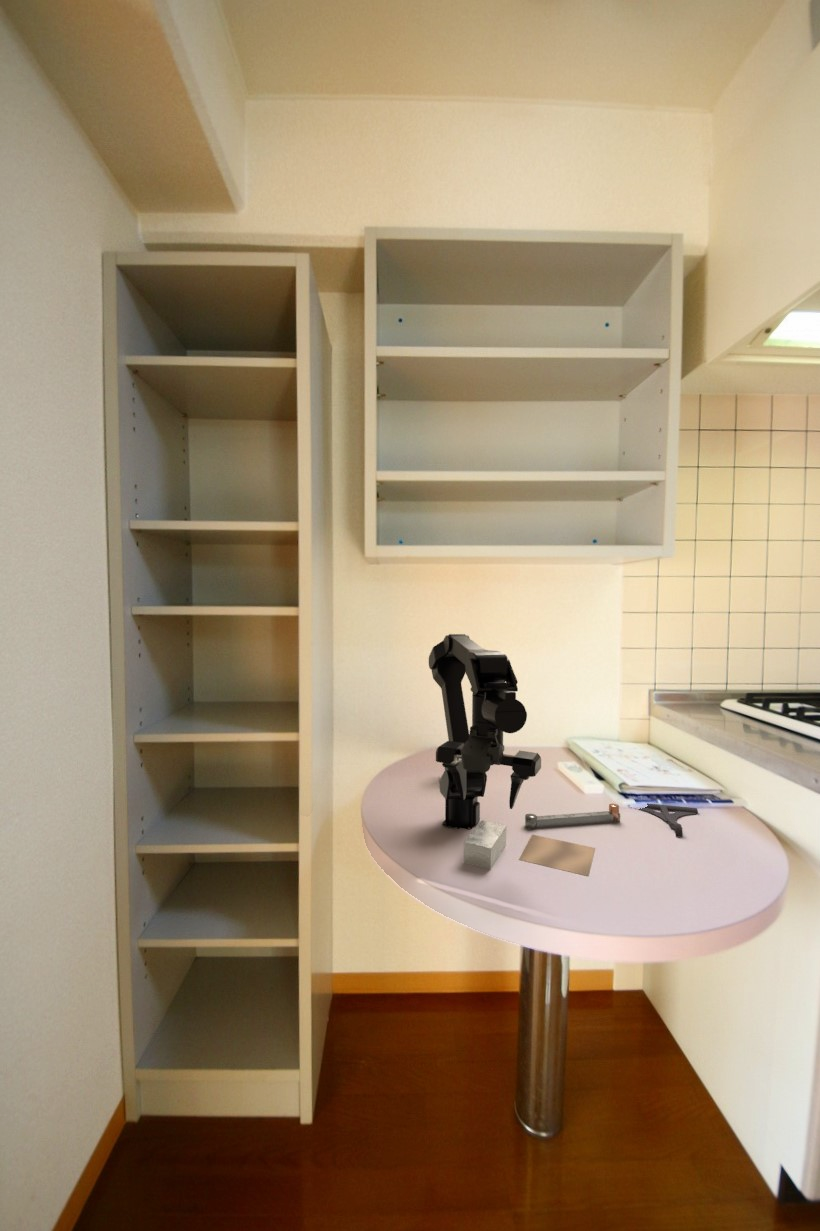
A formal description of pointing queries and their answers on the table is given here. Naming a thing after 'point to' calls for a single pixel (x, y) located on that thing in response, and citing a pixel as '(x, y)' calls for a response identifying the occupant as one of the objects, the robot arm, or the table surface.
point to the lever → (573, 818)
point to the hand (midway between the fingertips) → (486, 803)
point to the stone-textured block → (485, 844)
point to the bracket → (670, 814)
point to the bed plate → (558, 854)
